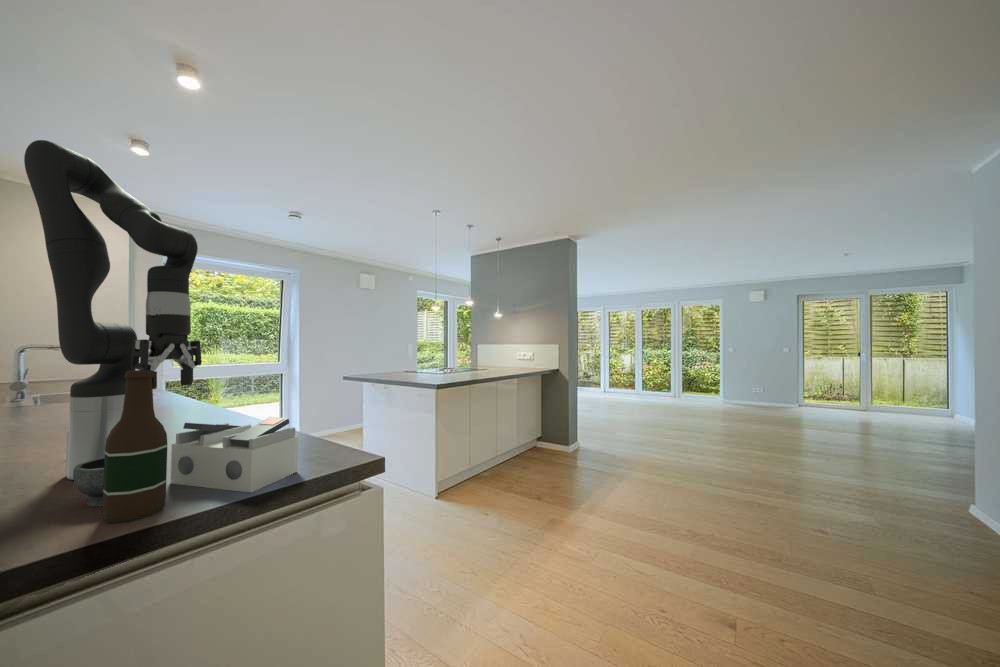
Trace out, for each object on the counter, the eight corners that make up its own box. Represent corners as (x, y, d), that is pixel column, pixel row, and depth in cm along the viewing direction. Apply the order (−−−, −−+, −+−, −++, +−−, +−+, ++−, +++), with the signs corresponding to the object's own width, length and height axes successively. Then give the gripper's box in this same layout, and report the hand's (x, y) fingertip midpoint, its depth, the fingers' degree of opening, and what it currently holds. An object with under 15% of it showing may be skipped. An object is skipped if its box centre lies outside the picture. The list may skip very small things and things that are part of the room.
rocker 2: (231, 444, 76) (229, 438, 75) (270, 422, 85) (269, 416, 85) (251, 446, 74) (250, 439, 74) (289, 423, 84) (288, 417, 84)
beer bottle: (125, 526, 59) (131, 372, 60) (87, 521, 60) (93, 371, 61) (177, 505, 66) (181, 369, 67) (142, 502, 68) (147, 368, 69)
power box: (168, 484, 77) (170, 434, 77) (225, 465, 89) (226, 422, 89) (249, 493, 72) (250, 440, 73) (297, 472, 84) (298, 427, 85)
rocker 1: (183, 428, 78) (185, 422, 79) (226, 431, 87) (227, 425, 88) (202, 429, 77) (204, 423, 77) (243, 432, 86) (245, 426, 87)
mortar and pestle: (113, 510, 65) (116, 439, 65) (54, 512, 64) (57, 440, 64) (166, 486, 76) (168, 426, 76) (117, 487, 75) (119, 426, 75)
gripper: (181, 317, 91) (182, 384, 91) (118, 311, 77) (118, 391, 76) (211, 316, 91) (211, 383, 90) (153, 310, 77) (153, 390, 76)
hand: (169, 387), depth 83 cm, fingers open, 8 cm apart
